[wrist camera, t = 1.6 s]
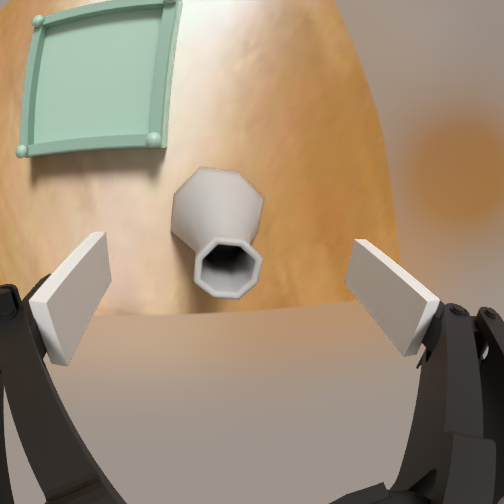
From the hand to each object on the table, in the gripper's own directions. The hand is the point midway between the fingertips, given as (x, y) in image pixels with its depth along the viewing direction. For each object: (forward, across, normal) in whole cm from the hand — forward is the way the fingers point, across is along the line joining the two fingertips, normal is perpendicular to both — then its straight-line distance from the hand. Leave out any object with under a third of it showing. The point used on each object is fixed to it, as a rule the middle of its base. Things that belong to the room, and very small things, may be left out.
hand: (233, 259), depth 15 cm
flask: (+9, -1, 0) cm, 9 cm away
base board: (+8, -11, +11) cm, 17 cm away
